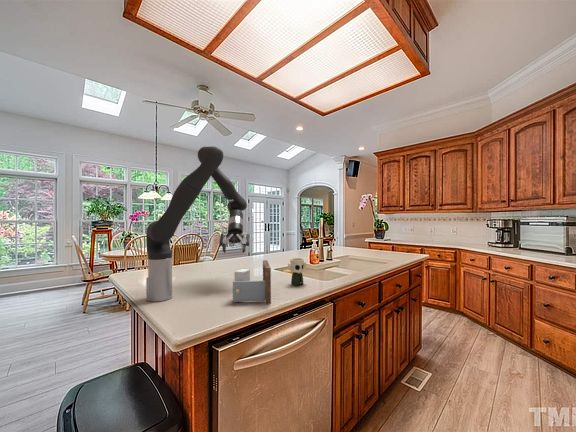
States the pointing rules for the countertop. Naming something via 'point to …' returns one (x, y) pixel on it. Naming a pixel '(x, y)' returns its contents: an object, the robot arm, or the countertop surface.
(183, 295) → the countertop surface
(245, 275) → the skincare box
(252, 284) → the door leaf
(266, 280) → the door frame
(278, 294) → the countertop surface
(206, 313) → the countertop surface
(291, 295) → the countertop surface
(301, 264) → the character mug
